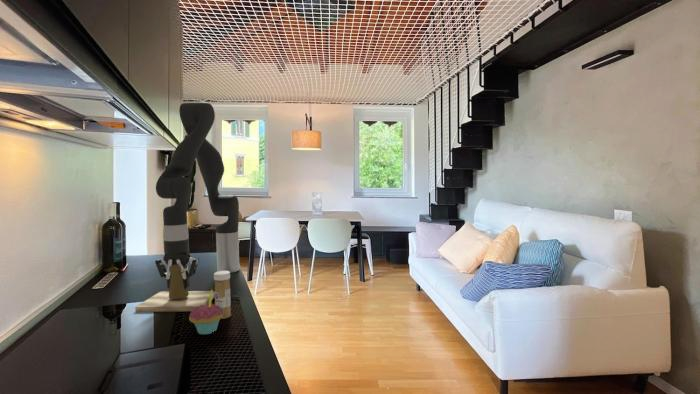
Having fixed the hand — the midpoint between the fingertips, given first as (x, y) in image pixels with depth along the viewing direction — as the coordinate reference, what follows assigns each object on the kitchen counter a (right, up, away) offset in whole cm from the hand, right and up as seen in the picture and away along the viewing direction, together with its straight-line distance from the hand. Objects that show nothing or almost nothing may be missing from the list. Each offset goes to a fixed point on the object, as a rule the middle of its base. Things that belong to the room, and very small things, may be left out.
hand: (178, 289), depth 122 cm
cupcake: (+18, -6, -22) cm, 29 cm away
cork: (0, -2, 0) cm, 2 cm away
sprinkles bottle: (+19, -5, -12) cm, 23 cm away
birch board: (0, -5, 0) cm, 5 cm away
